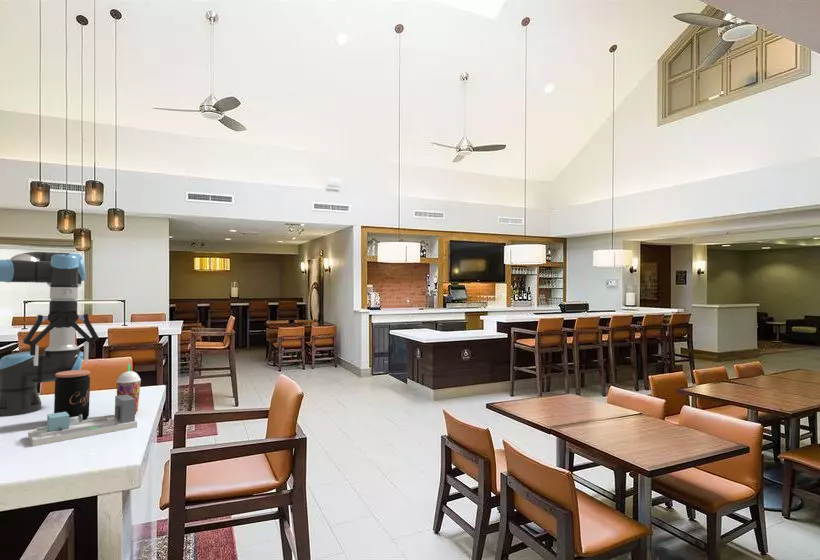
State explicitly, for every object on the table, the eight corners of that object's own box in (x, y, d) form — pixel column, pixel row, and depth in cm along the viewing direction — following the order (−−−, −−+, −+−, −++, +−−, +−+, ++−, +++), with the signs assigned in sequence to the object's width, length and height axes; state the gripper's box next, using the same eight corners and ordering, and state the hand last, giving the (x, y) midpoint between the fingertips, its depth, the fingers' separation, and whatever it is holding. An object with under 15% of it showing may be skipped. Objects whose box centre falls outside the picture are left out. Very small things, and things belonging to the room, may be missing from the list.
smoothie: (111, 418, 173) (113, 366, 173) (119, 412, 181) (120, 362, 181) (136, 417, 175) (137, 365, 176) (142, 411, 183) (144, 362, 184)
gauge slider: (46, 429, 151) (47, 414, 152) (79, 423, 158) (79, 409, 158) (51, 435, 145) (51, 420, 145) (85, 429, 152) (85, 414, 152)
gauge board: (28, 437, 150) (29, 407, 150) (127, 420, 171) (128, 393, 171) (32, 446, 142) (34, 414, 142) (137, 427, 163) (137, 399, 163)
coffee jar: (70, 425, 164) (71, 375, 164) (46, 423, 166) (47, 374, 166) (95, 417, 174) (97, 370, 175) (73, 415, 176) (74, 369, 177)
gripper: (17, 300, 141) (14, 368, 140) (109, 300, 160) (108, 360, 159) (13, 300, 146) (11, 365, 145) (103, 299, 165) (101, 358, 164)
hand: (61, 363), depth 152 cm, fingers open, 13 cm apart
